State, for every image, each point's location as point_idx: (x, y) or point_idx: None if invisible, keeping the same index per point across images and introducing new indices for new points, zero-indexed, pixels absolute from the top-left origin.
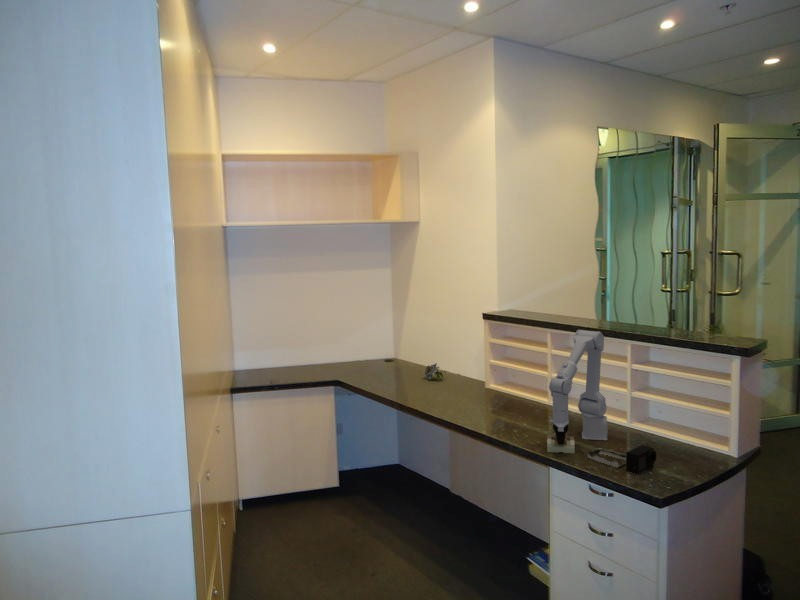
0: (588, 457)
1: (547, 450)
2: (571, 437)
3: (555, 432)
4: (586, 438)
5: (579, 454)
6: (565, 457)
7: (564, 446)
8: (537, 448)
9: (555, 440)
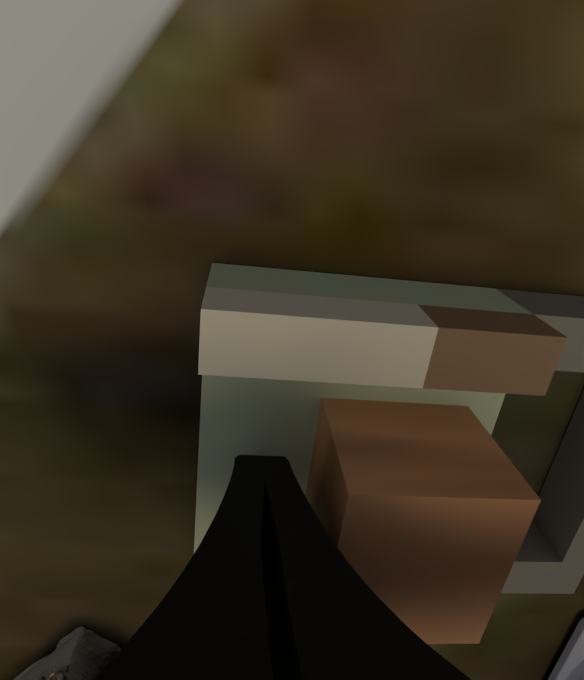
0: (71, 640)
1: (211, 271)
2: None
3: (143, 624)
4: (575, 645)
5: (177, 574)
6: (50, 456)
7: None
8: (348, 124)
9: (331, 444)
